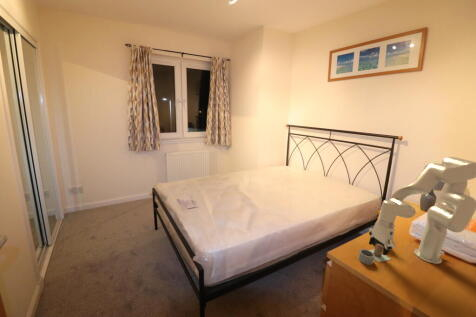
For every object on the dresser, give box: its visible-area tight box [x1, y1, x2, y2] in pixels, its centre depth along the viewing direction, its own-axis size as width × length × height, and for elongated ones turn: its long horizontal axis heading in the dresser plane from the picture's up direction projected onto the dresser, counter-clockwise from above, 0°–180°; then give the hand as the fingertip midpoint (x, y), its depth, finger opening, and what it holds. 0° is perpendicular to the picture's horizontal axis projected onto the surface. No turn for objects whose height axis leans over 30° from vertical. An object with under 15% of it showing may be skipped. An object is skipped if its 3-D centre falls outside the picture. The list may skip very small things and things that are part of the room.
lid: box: [369, 244, 392, 263], centre depth 130 cm, size 10×10×7 cm
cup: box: [357, 248, 375, 266], centre depth 124 cm, size 7×7×4 cm
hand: (377, 249), depth 129 cm, fingers open, 9 cm apart
